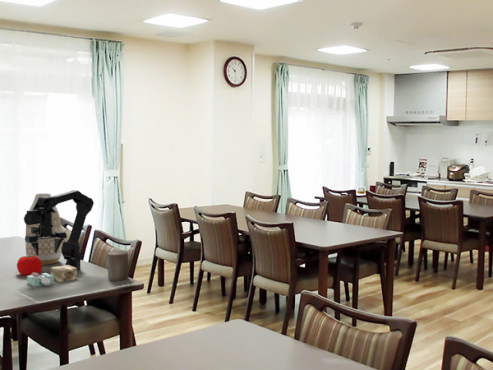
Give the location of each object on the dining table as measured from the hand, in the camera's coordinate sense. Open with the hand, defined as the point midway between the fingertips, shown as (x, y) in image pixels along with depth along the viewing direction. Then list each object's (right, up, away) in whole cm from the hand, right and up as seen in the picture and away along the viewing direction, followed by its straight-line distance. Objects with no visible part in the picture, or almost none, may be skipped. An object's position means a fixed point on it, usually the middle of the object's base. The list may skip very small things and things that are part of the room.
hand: (46, 254), depth 266 cm
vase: (-13, -9, +33) cm, 37 cm away
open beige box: (+9, -12, -2) cm, 15 cm away
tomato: (-10, -12, +6) cm, 16 cm away
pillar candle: (+35, -13, -1) cm, 37 cm away
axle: (+2, -12, -12) cm, 17 cm away
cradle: (+1, -13, -11) cm, 17 cm away
